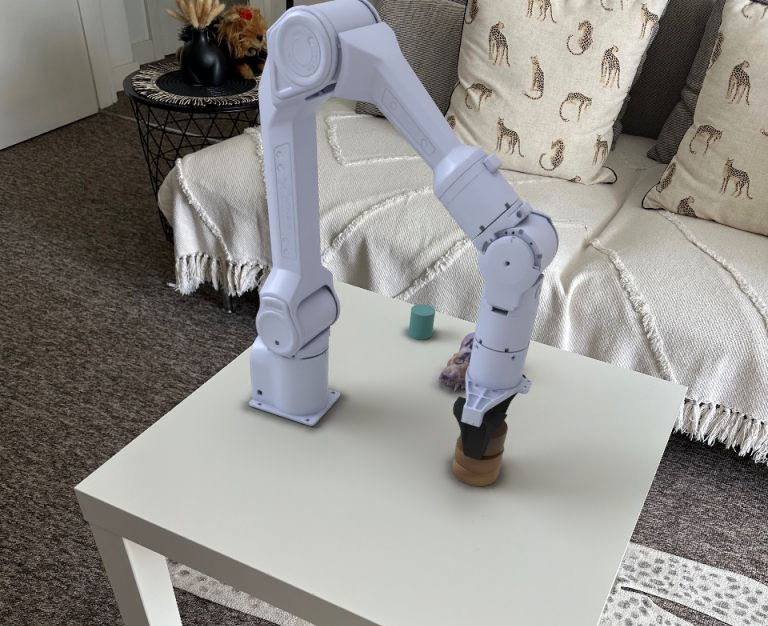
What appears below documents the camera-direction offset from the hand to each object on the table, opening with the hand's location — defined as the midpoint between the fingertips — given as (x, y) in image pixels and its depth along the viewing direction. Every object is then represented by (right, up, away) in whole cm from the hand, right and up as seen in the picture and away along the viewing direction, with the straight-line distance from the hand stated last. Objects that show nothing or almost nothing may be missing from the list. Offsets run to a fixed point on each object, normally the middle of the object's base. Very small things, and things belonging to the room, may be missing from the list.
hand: (480, 442), depth 82 cm
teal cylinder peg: (-6, +19, +26) cm, 33 cm away
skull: (+1, +11, +18) cm, 22 cm away
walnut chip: (0, 0, 0) cm, 0 cm away
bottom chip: (0, -3, +3) cm, 4 cm away
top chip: (0, -2, +2) cm, 2 cm away
